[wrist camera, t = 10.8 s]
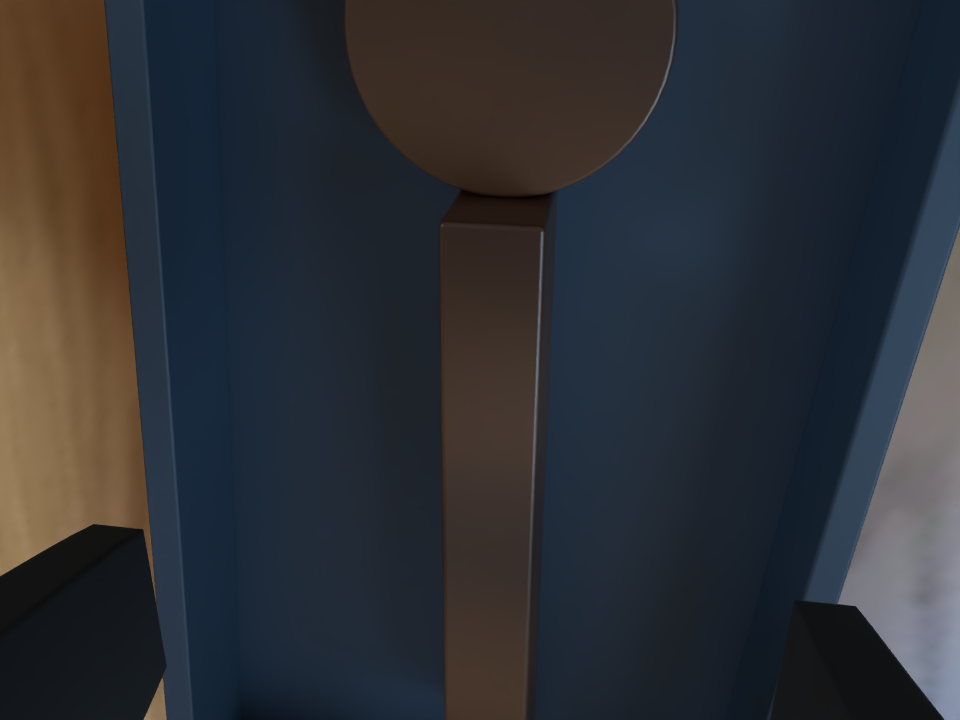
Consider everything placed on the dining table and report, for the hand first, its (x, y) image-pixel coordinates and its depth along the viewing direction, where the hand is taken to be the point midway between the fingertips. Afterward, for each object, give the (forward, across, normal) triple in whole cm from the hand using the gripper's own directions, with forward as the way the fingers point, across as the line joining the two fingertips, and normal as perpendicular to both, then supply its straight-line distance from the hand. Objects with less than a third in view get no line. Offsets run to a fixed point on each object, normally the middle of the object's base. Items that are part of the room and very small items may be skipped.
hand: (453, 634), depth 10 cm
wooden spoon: (+8, 0, 0) cm, 8 cm away
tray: (+8, 0, 0) cm, 8 cm away
